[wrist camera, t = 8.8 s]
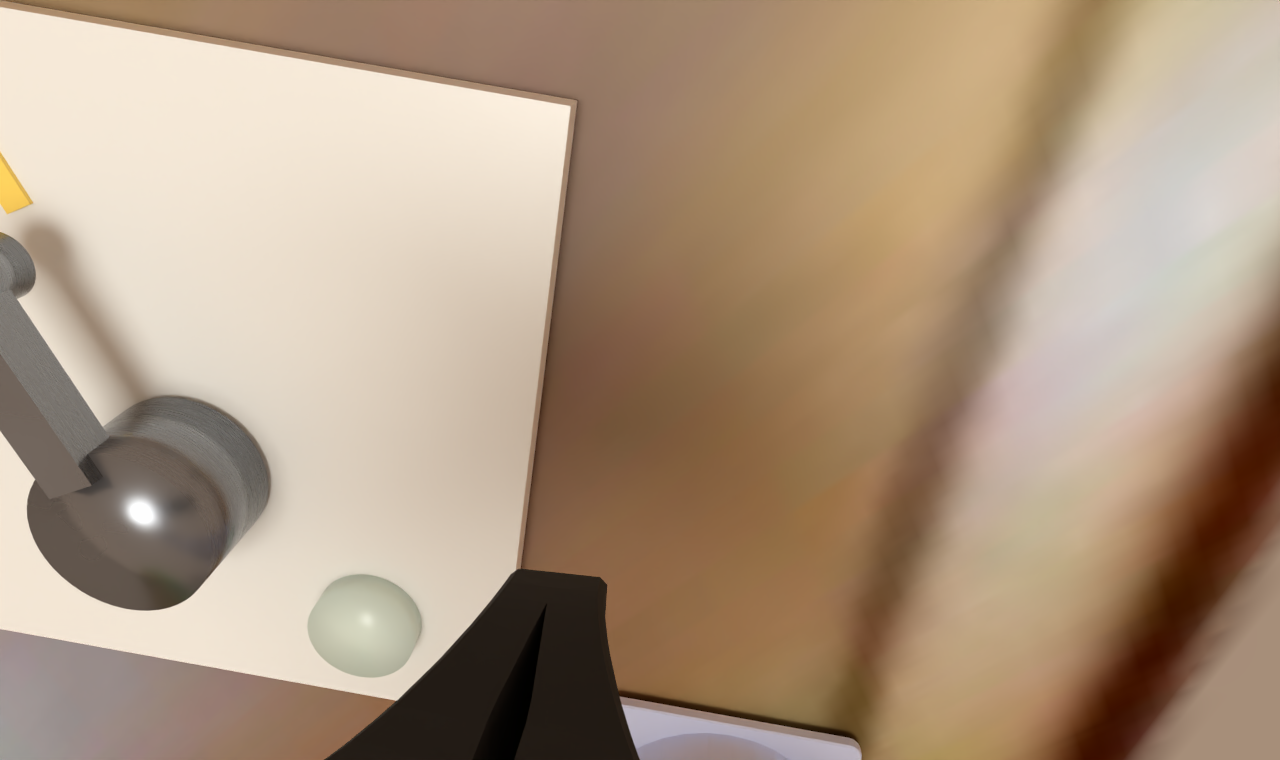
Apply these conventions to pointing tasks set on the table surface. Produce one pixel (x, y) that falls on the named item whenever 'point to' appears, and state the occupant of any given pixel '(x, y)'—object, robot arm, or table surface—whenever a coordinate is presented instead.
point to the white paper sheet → (290, 326)
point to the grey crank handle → (120, 472)
